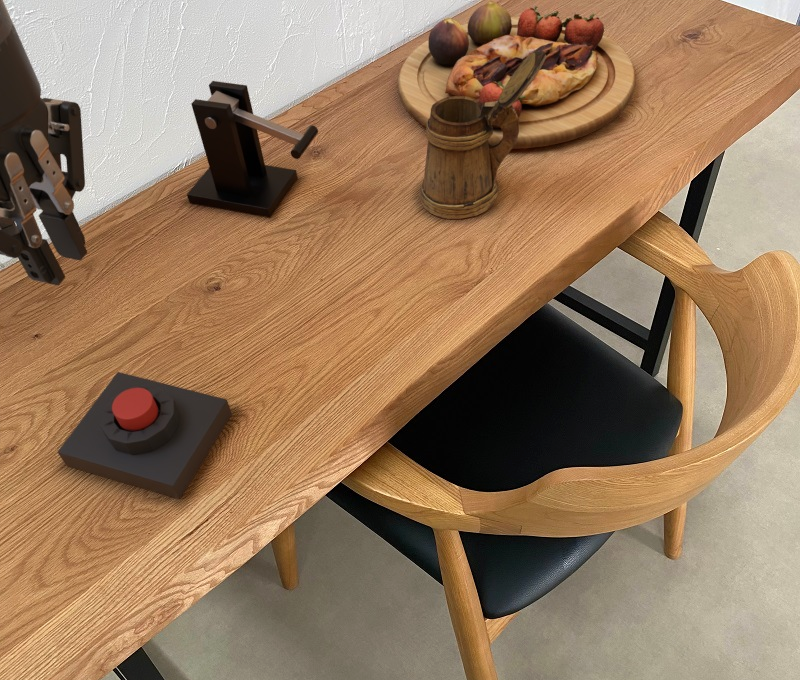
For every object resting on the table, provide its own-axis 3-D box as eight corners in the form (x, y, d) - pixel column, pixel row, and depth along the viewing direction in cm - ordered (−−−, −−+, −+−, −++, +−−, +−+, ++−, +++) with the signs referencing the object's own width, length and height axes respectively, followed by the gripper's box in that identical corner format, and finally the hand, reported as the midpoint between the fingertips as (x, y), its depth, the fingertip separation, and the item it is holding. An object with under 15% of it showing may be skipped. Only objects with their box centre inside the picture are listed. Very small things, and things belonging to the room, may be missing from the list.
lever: (317, 140, 91) (319, 123, 89) (299, 165, 88) (301, 147, 87) (222, 102, 92) (222, 83, 90) (201, 125, 89) (200, 107, 87)
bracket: (298, 178, 99) (279, 81, 89) (270, 217, 94) (247, 120, 84) (220, 165, 102) (193, 70, 92) (189, 203, 97) (158, 107, 87)
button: (110, 425, 71) (103, 413, 69) (132, 395, 73) (125, 383, 71) (145, 435, 70) (138, 423, 68) (165, 404, 72) (160, 392, 70)
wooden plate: (579, 180, 95) (587, 117, 89) (354, 119, 106) (347, 60, 100) (666, 55, 112) (678, -5, 105) (463, 15, 123) (463, -42, 117)
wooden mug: (531, 225, 90) (543, 75, 76) (414, 216, 93) (405, 69, 79) (538, 178, 96) (550, 30, 82) (427, 171, 98) (421, 26, 84)
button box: (66, 466, 73) (48, 440, 70) (125, 386, 79) (111, 359, 75) (180, 499, 70) (166, 474, 67) (232, 413, 75) (222, 386, 72)
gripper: (-31, -26, 50) (74, 203, 63) (-204, 88, 41) (-41, 323, 55) (69, -16, 48) (156, 218, 61) (-92, 106, 40) (48, 345, 53)
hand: (62, 267), depth 58 cm, fingers closed
